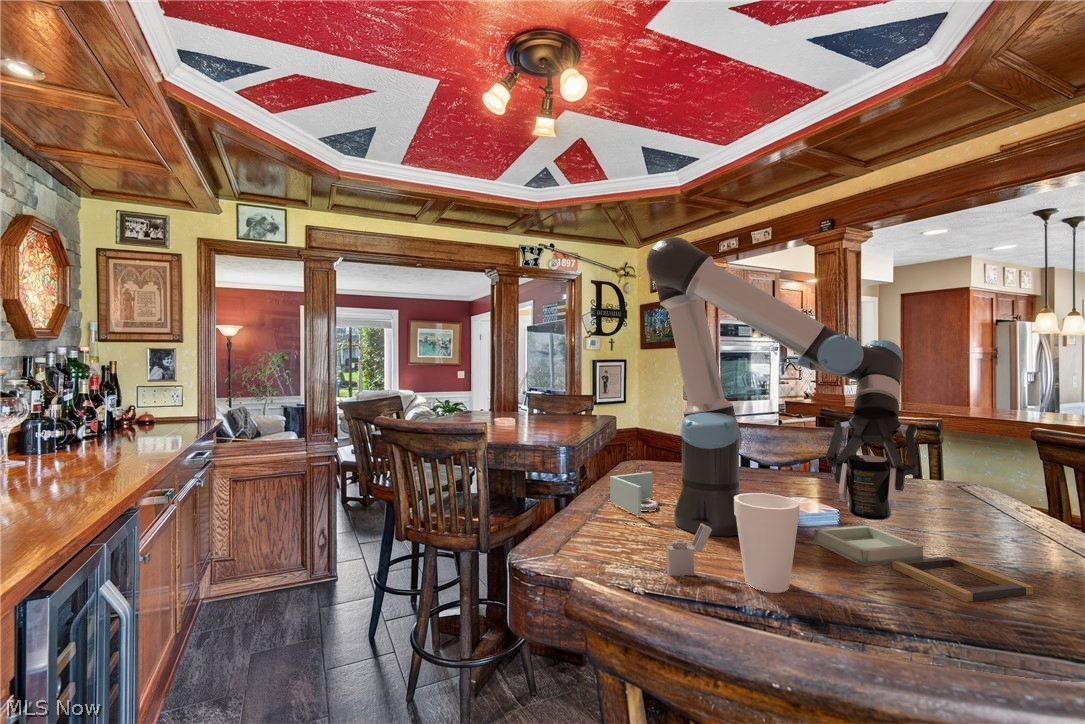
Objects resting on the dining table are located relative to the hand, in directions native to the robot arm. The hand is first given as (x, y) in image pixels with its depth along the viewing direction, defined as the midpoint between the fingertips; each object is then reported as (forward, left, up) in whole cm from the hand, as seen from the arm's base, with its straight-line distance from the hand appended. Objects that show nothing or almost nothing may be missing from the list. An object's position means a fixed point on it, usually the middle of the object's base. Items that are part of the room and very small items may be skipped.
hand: (866, 500), depth 88 cm
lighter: (-34, 0, -10) cm, 35 cm away
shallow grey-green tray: (+2, +3, -10) cm, 11 cm away
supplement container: (+3, +2, -4) cm, 5 cm away
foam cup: (-24, -6, -10) cm, 27 cm away
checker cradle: (+6, -11, -10) cm, 16 cm away
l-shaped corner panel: (-27, +37, -11) cm, 47 cm away
